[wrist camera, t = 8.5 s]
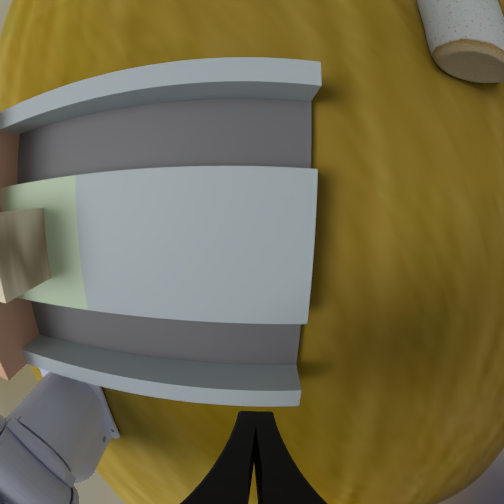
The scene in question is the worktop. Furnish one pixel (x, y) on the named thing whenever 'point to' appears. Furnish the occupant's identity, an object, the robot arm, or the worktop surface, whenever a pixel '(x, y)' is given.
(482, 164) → the worktop surface
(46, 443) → the robot arm
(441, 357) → the worktop surface
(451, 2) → the ceramic mug
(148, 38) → the worktop surface
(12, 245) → the birch block
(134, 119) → the box
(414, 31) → the worktop surface
